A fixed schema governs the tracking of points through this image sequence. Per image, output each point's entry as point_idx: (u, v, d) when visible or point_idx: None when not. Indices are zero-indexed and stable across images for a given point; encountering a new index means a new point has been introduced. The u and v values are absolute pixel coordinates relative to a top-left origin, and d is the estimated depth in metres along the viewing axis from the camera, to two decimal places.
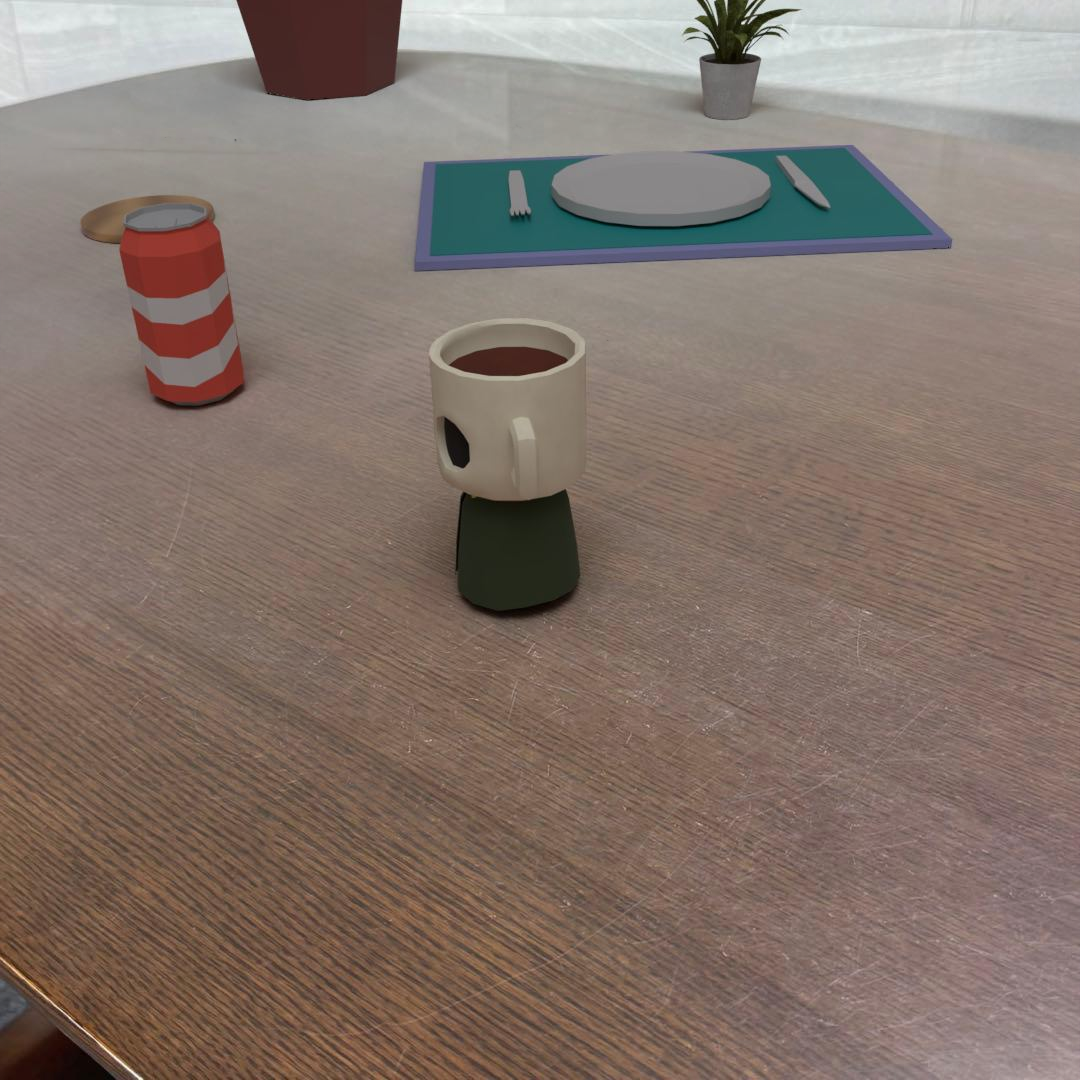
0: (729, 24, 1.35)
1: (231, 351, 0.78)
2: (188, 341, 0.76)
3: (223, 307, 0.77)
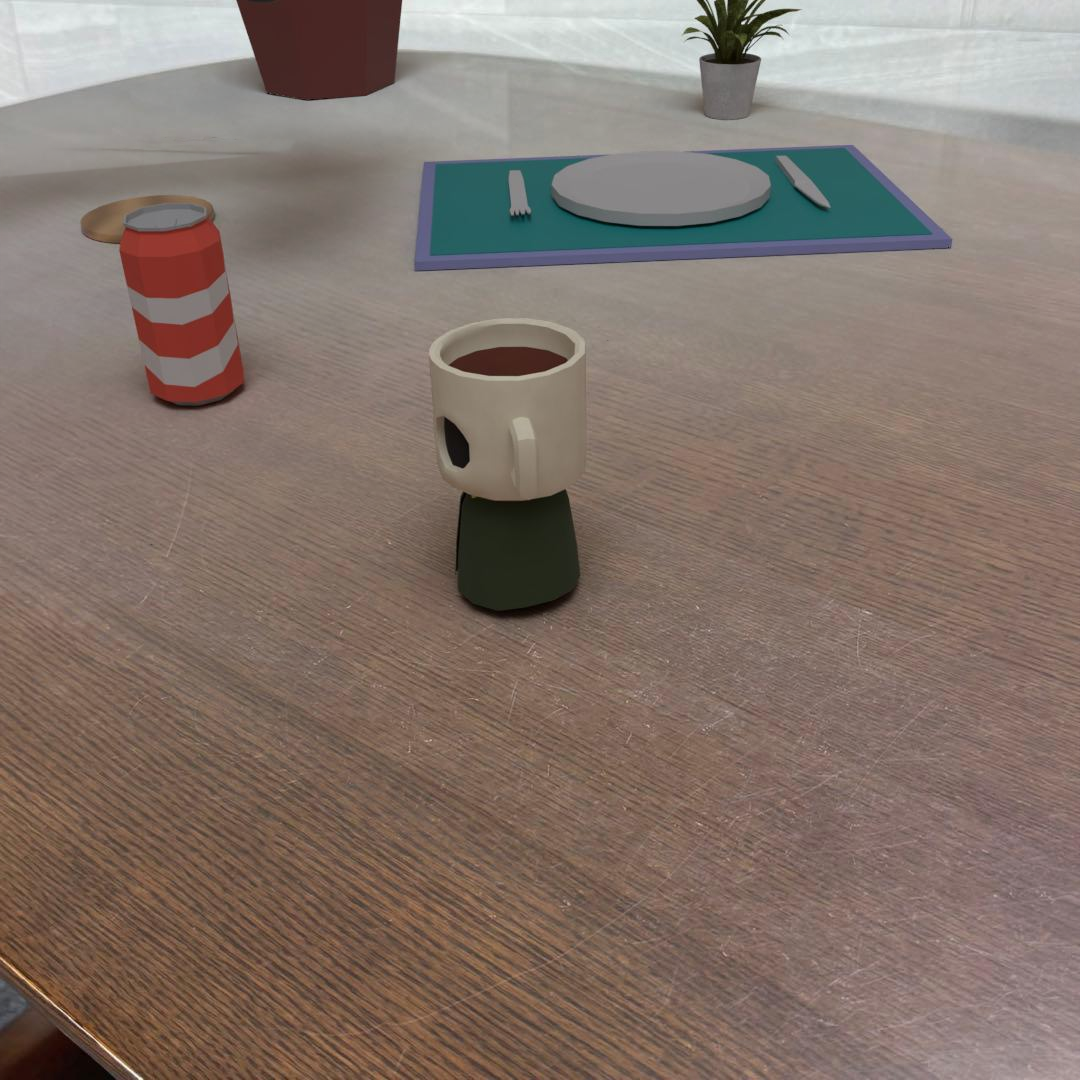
0: (729, 24, 1.35)
1: (231, 351, 0.78)
2: (188, 341, 0.76)
3: (223, 307, 0.77)
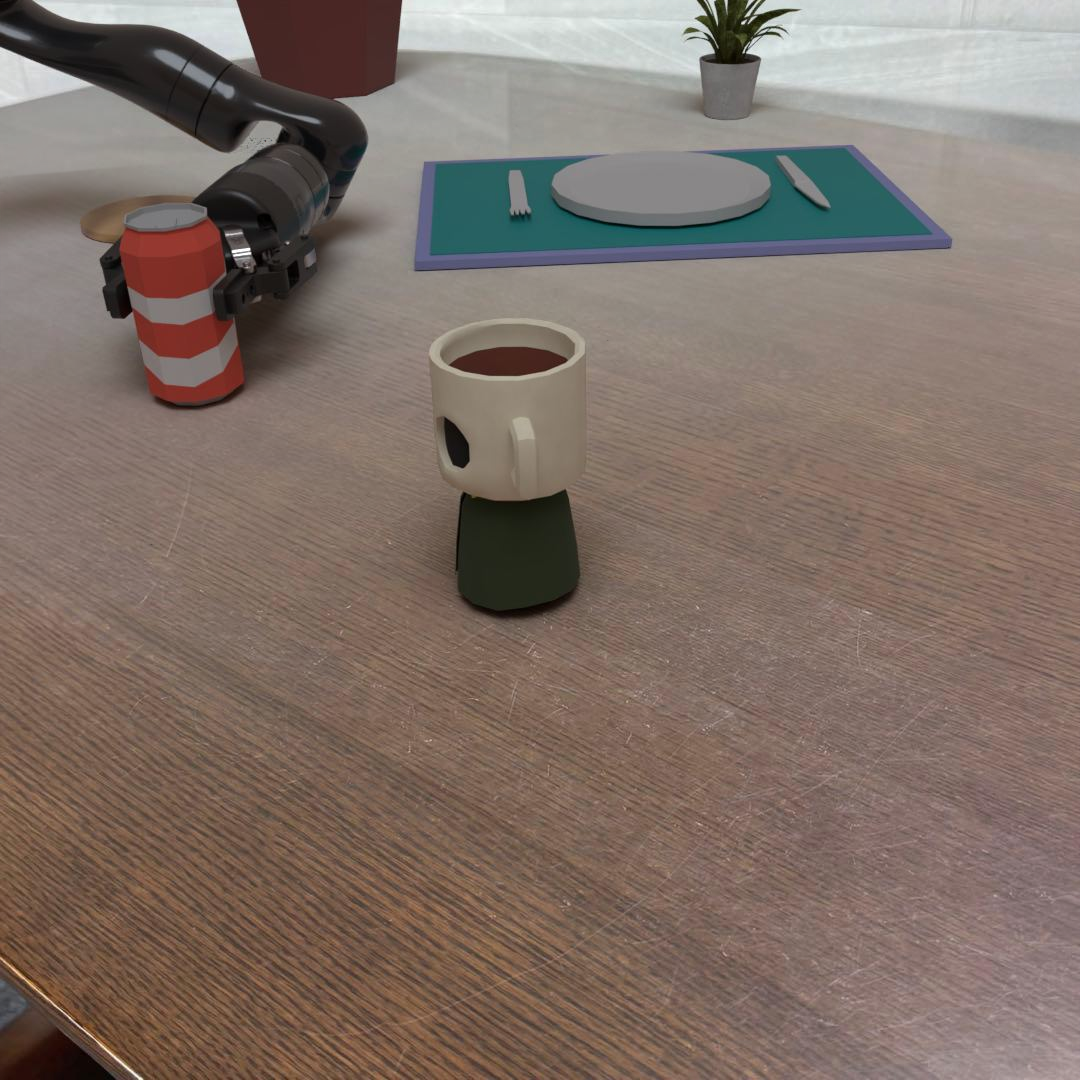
0: (729, 24, 1.35)
1: (231, 351, 0.78)
2: (188, 342, 0.76)
3: None
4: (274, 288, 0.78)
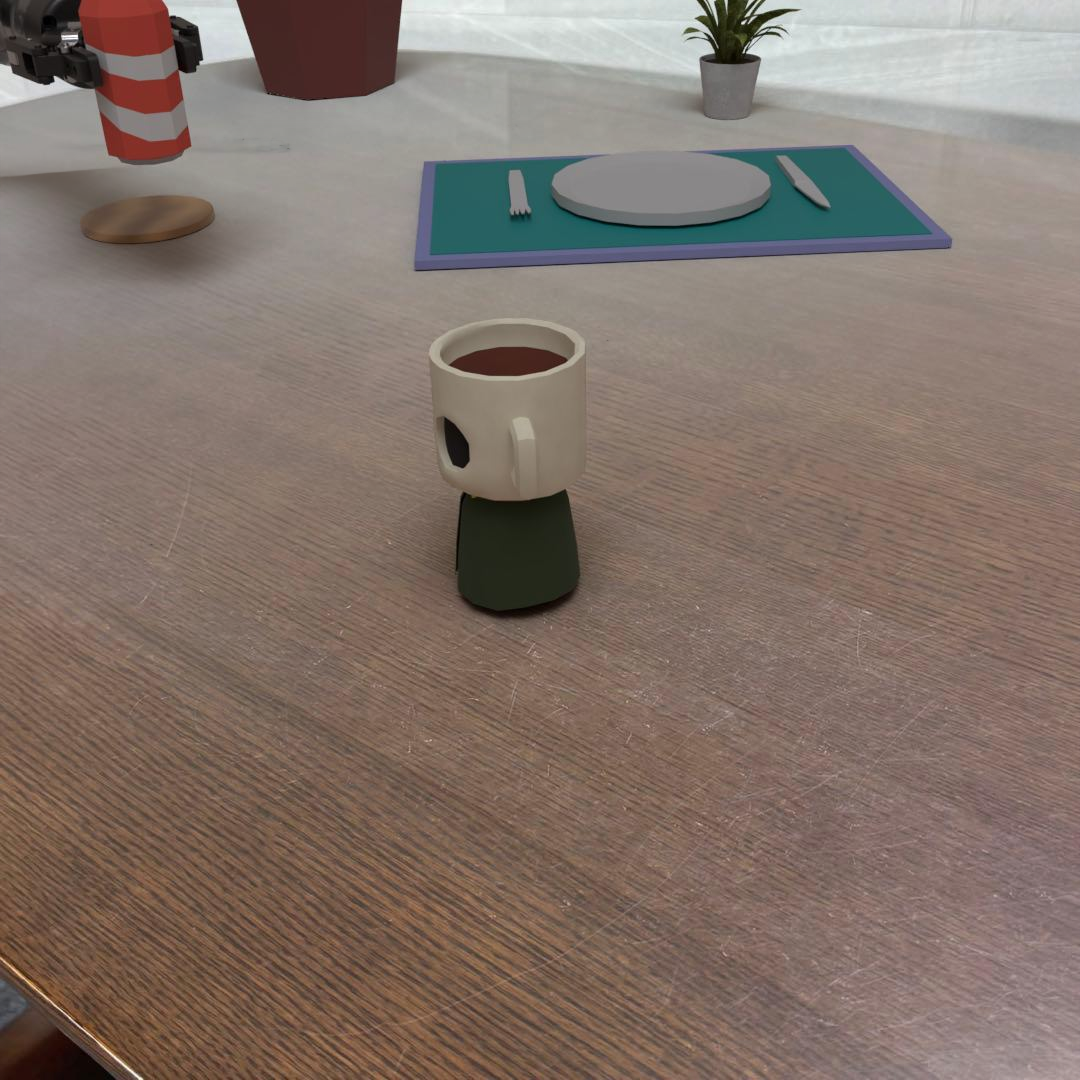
0: (729, 24, 1.35)
1: None
2: (169, 95, 0.88)
3: None
4: None
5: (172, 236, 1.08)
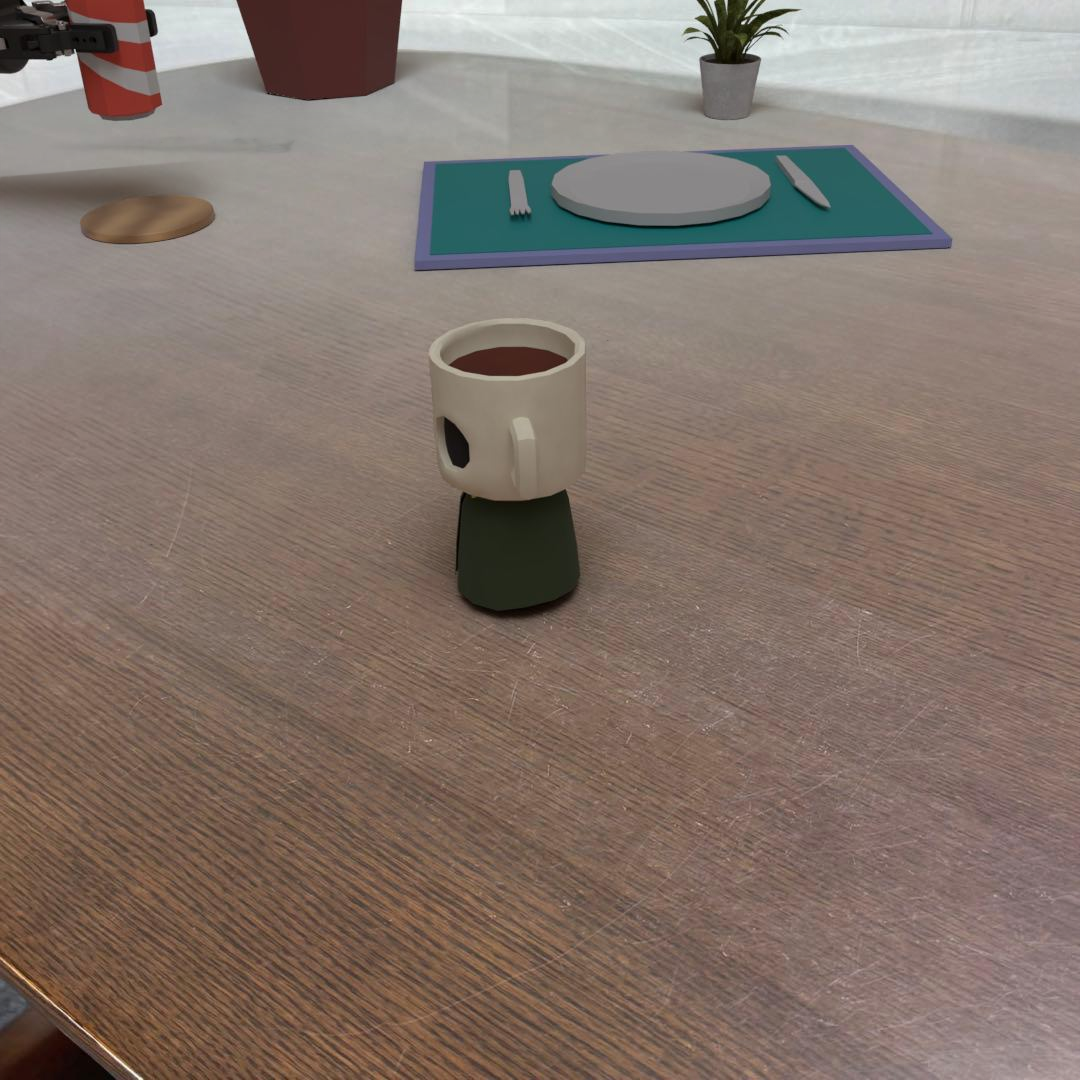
0: (729, 24, 1.35)
1: None
2: None
3: None
4: None
5: (172, 236, 1.08)
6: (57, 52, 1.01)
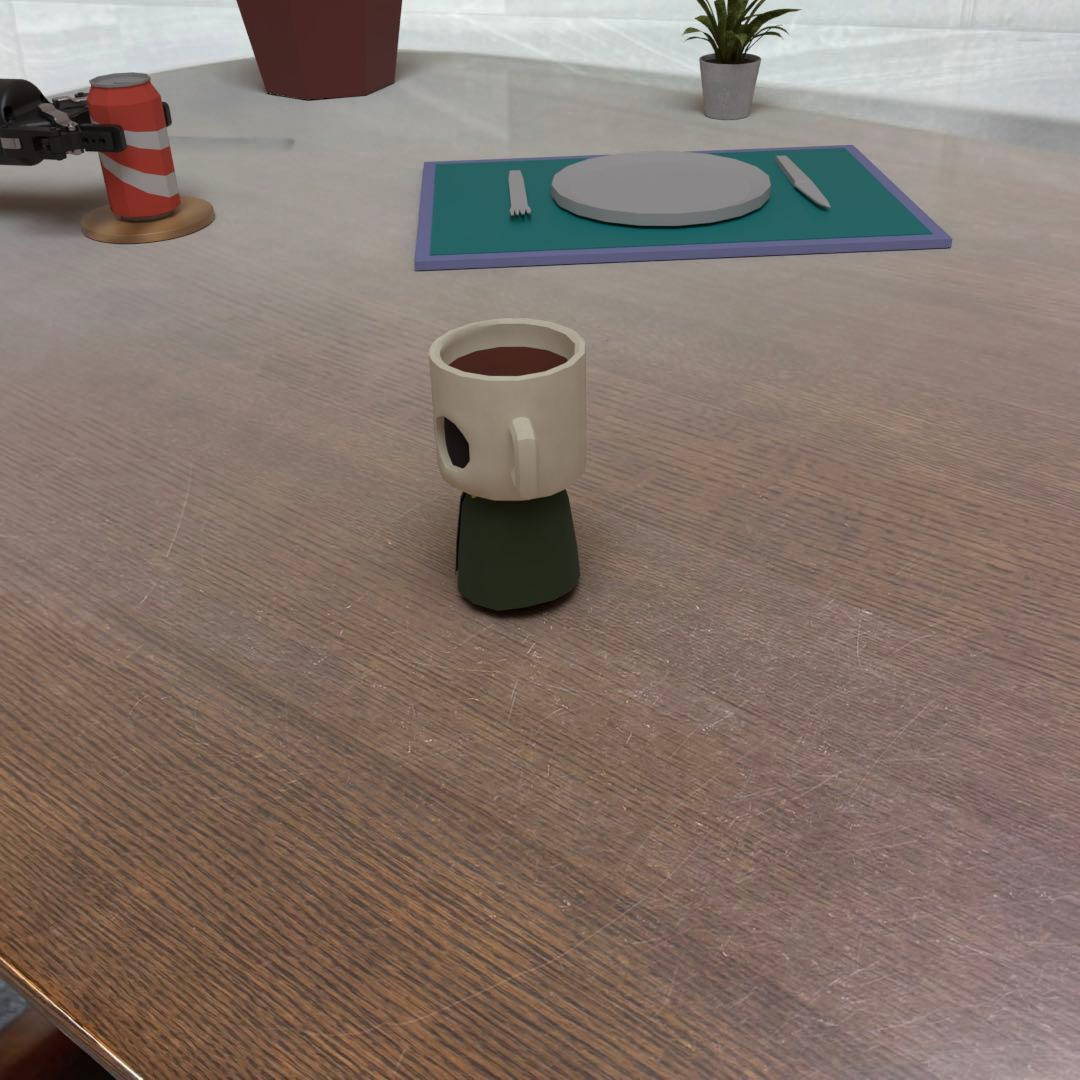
0: (729, 24, 1.35)
1: None
2: None
3: None
4: None
5: (172, 236, 1.08)
6: (67, 151, 1.05)
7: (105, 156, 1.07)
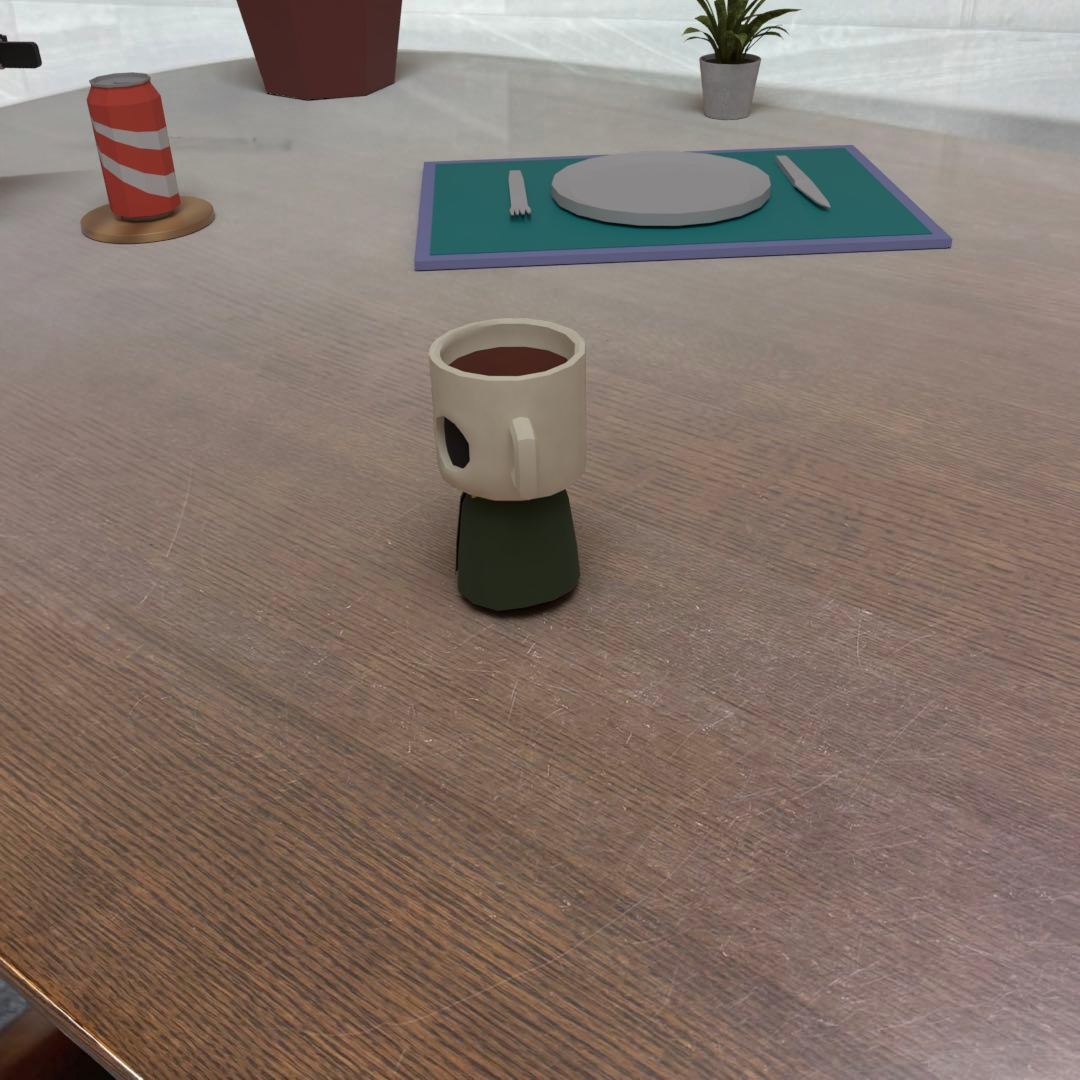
0: (729, 24, 1.35)
1: None
2: None
3: None
4: None
5: (172, 236, 1.08)
6: None
7: (105, 156, 1.07)
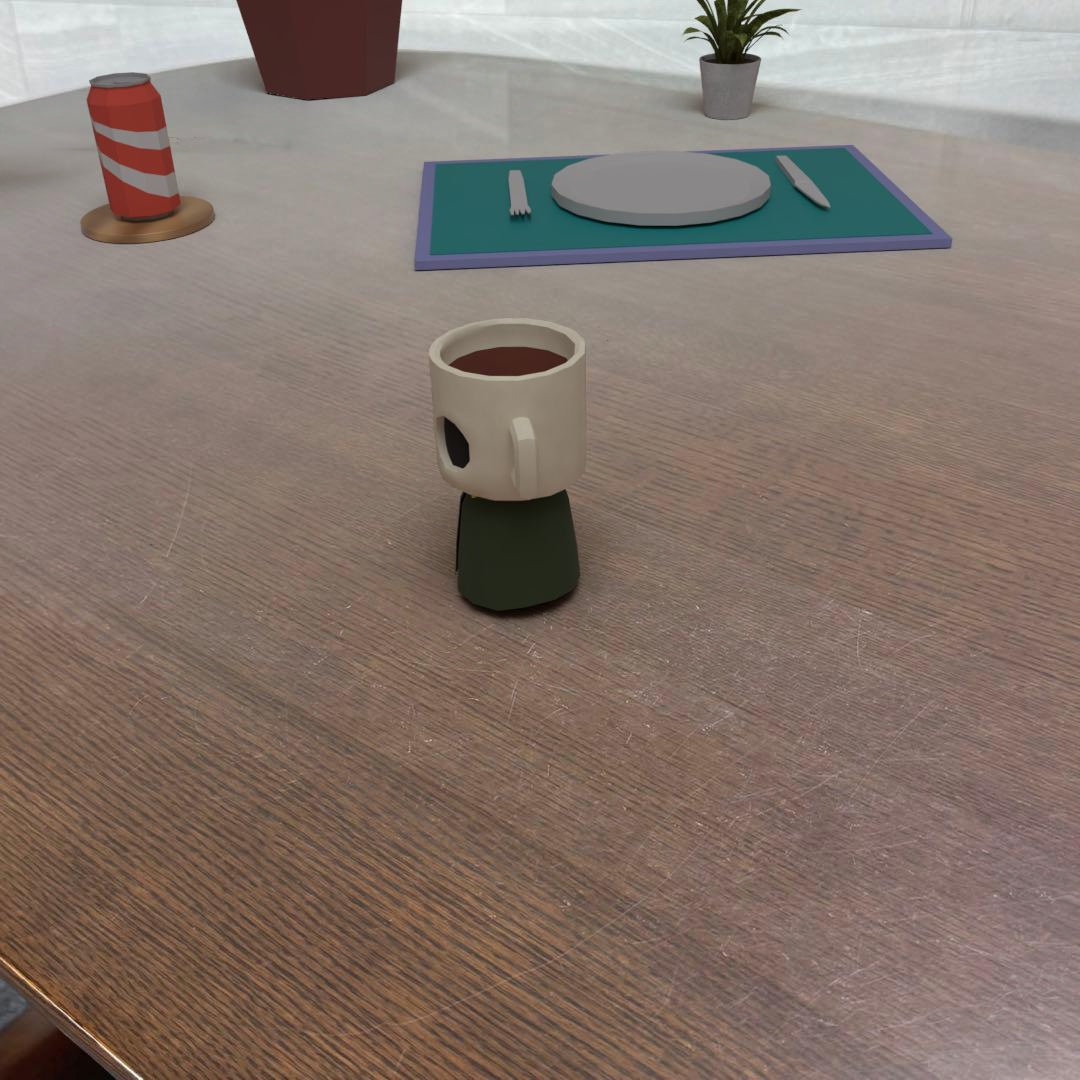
0: (729, 24, 1.35)
1: None
2: None
3: None
4: None
5: (172, 236, 1.08)
6: None
7: (105, 156, 1.07)
